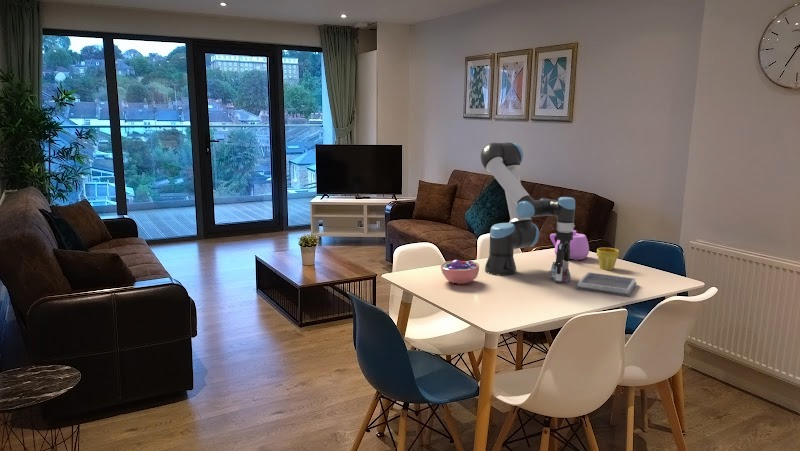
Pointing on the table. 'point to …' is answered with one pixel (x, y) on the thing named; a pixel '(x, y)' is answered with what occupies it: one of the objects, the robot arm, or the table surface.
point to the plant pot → (607, 257)
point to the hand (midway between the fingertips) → (561, 277)
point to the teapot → (575, 246)
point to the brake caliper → (565, 275)
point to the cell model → (460, 271)
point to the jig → (607, 284)
